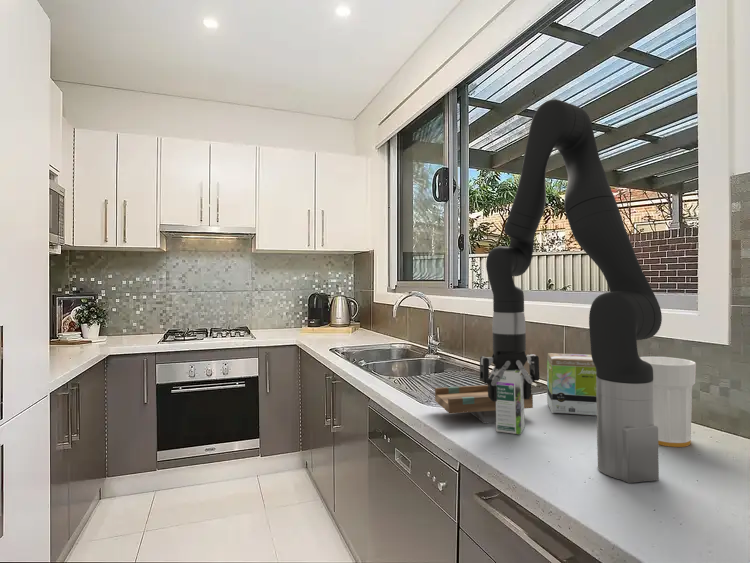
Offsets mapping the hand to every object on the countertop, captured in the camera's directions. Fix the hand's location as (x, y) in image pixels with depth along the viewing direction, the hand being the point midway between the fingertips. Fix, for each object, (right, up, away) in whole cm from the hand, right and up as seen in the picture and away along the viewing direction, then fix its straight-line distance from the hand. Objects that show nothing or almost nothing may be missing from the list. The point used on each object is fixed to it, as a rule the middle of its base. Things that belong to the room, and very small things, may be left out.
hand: (509, 399), depth 108 cm
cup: (+32, -7, -8) cm, 34 cm away
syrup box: (0, -7, 0) cm, 7 cm away
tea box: (+23, -7, +15) cm, 28 cm away
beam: (-4, -7, +11) cm, 14 cm away
